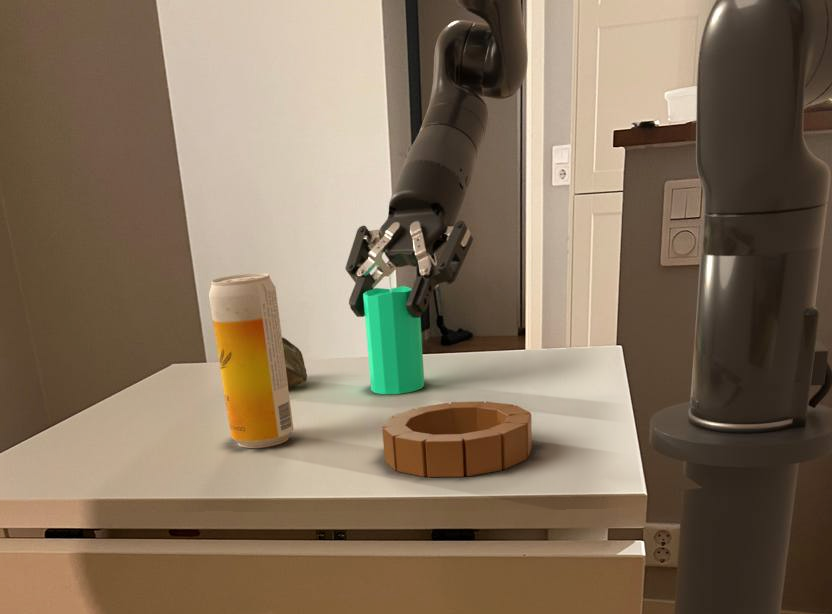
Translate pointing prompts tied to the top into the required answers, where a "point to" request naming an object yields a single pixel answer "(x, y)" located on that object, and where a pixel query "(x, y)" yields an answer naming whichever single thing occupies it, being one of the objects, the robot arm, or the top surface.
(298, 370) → the fossilized seashell
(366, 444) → the top surface
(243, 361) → the beer can
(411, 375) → the candle
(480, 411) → the brown segmented block ring
